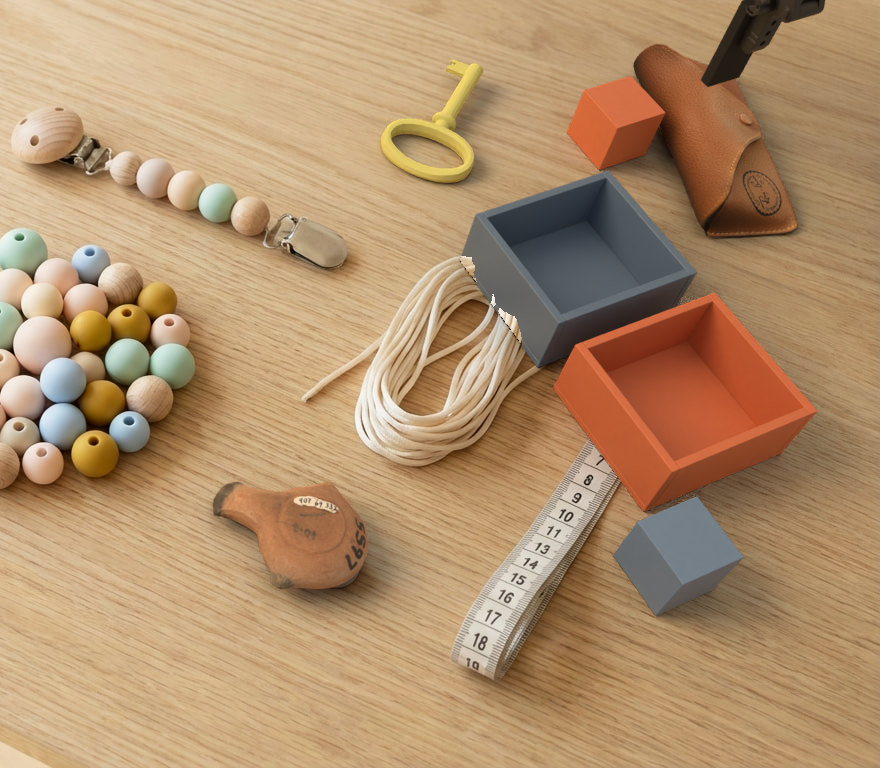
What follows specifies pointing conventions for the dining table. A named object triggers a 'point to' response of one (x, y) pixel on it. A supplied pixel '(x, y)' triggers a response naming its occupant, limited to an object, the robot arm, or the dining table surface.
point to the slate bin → (575, 264)
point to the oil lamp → (299, 532)
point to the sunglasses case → (716, 148)
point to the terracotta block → (615, 122)
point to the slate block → (677, 555)
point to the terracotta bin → (681, 400)
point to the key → (437, 131)
